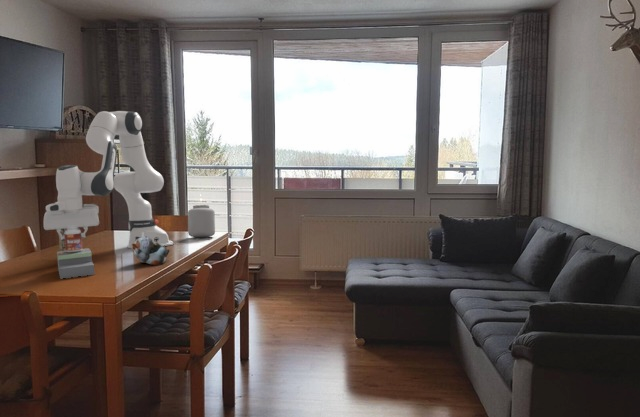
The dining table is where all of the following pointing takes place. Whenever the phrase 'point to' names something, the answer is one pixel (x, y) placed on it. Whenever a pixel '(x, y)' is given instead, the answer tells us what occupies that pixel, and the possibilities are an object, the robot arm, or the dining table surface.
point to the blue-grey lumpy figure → (149, 251)
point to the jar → (201, 221)
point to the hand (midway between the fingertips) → (73, 238)
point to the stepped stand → (75, 263)
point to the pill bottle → (73, 239)
